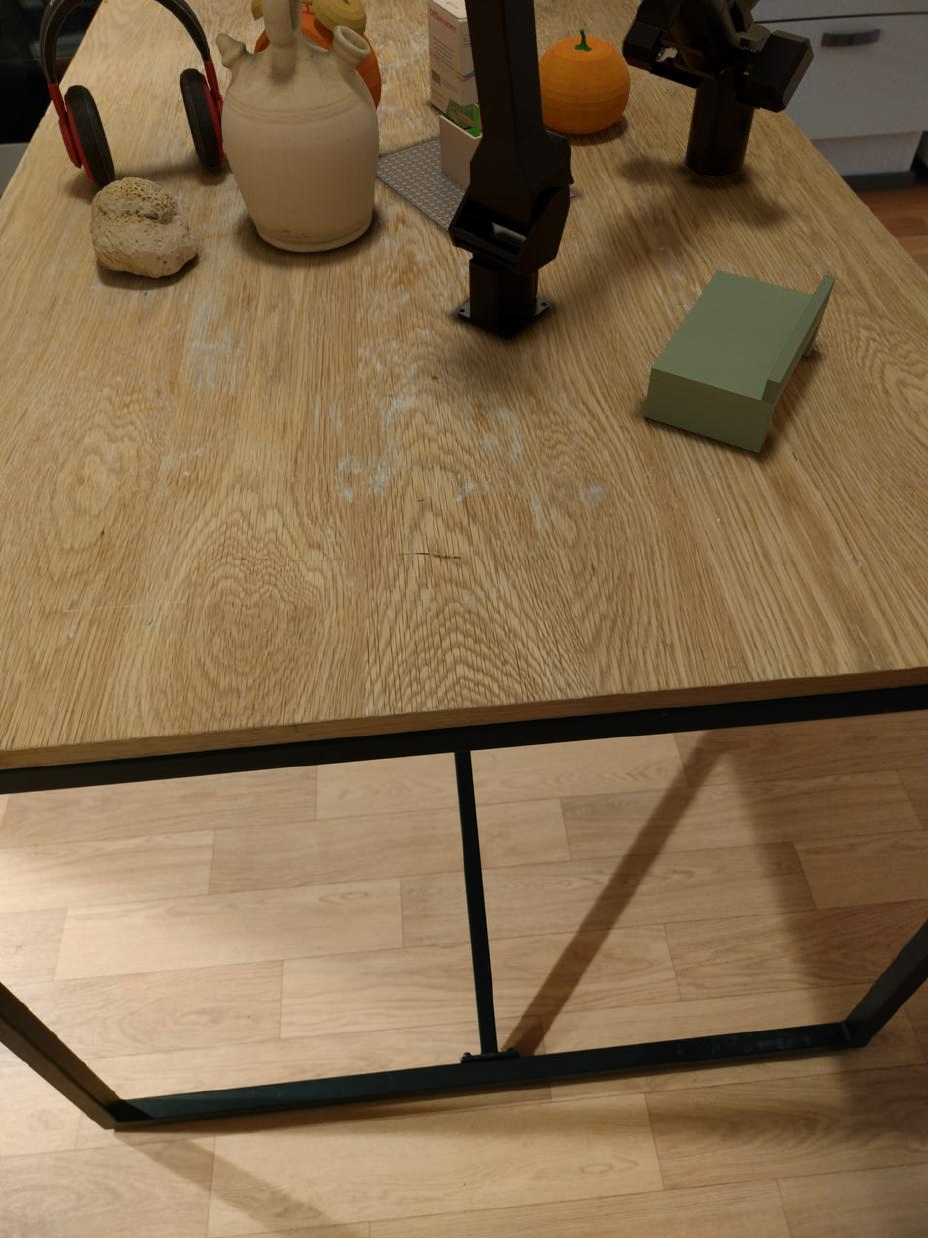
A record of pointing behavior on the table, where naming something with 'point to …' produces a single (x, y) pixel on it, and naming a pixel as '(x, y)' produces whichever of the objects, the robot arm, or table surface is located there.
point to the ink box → (451, 60)
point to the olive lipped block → (734, 358)
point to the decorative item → (140, 229)
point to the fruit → (583, 85)
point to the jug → (301, 133)
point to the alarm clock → (331, 33)
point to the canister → (721, 120)
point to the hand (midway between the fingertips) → (732, 95)
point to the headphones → (82, 114)
